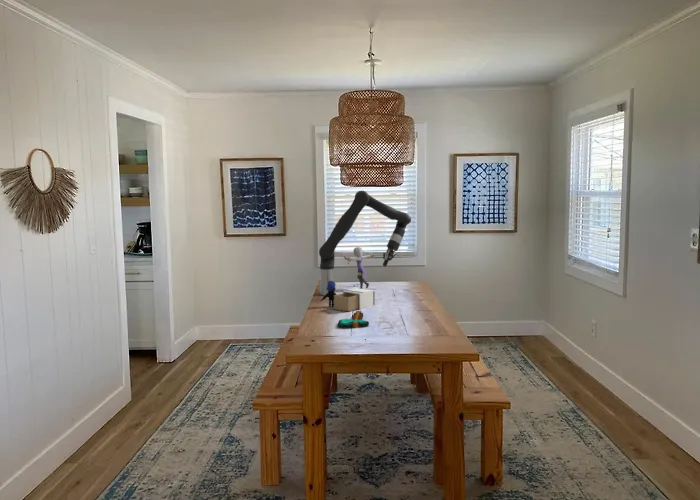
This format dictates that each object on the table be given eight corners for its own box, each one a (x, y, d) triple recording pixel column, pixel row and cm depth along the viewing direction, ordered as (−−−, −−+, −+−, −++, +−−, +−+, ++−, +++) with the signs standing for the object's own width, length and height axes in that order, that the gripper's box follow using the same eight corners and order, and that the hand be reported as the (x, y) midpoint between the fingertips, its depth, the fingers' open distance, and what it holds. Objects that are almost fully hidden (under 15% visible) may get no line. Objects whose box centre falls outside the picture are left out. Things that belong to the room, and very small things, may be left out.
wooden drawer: (360, 302, 339) (360, 289, 338) (374, 304, 332) (374, 291, 331) (334, 308, 321) (333, 295, 320) (348, 311, 314) (348, 297, 313)
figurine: (345, 287, 391) (344, 245, 388) (374, 287, 390) (374, 245, 387) (343, 291, 375) (343, 248, 372) (374, 291, 374) (374, 247, 370)
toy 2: (342, 315, 307) (337, 329, 278) (342, 310, 307) (336, 323, 277) (370, 315, 306) (368, 329, 276) (370, 310, 306) (368, 324, 276)
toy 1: (343, 305, 333) (342, 280, 331) (341, 307, 327) (341, 282, 325) (321, 304, 334) (321, 280, 333) (320, 307, 328) (319, 282, 327)
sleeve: (355, 303, 338) (355, 287, 337) (373, 306, 329) (373, 290, 328) (342, 306, 329) (342, 290, 328) (360, 309, 320) (360, 293, 319)
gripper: (385, 240, 361) (374, 263, 356) (395, 238, 349) (385, 262, 344) (393, 245, 364) (383, 268, 359) (404, 244, 352) (394, 268, 347)
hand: (384, 265), depth 352 cm, fingers closed
